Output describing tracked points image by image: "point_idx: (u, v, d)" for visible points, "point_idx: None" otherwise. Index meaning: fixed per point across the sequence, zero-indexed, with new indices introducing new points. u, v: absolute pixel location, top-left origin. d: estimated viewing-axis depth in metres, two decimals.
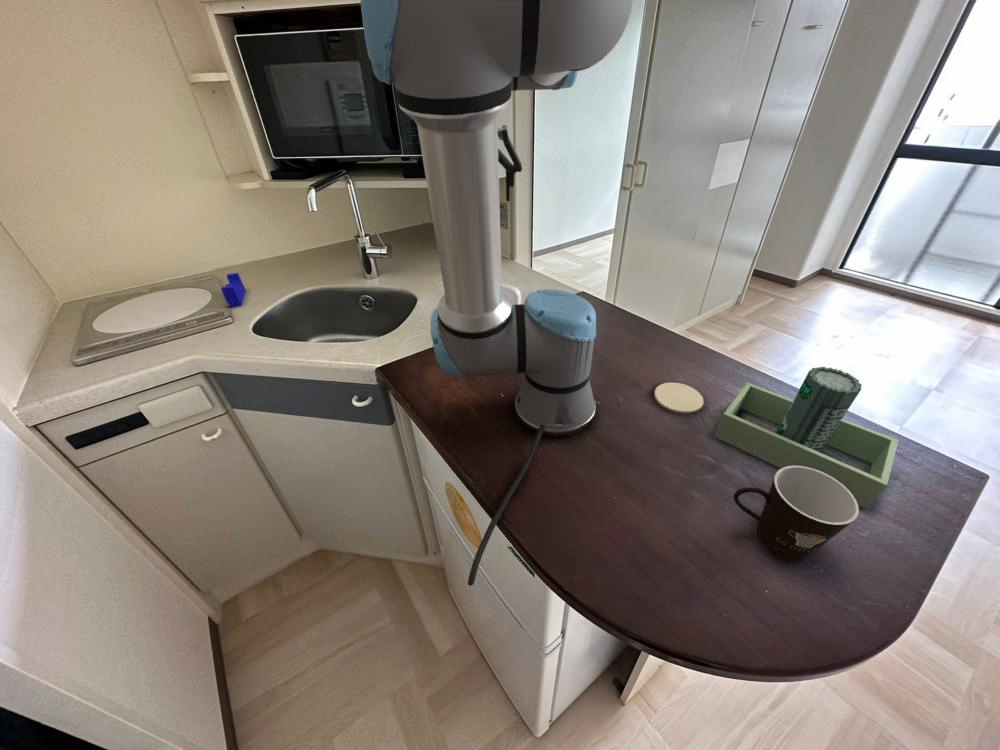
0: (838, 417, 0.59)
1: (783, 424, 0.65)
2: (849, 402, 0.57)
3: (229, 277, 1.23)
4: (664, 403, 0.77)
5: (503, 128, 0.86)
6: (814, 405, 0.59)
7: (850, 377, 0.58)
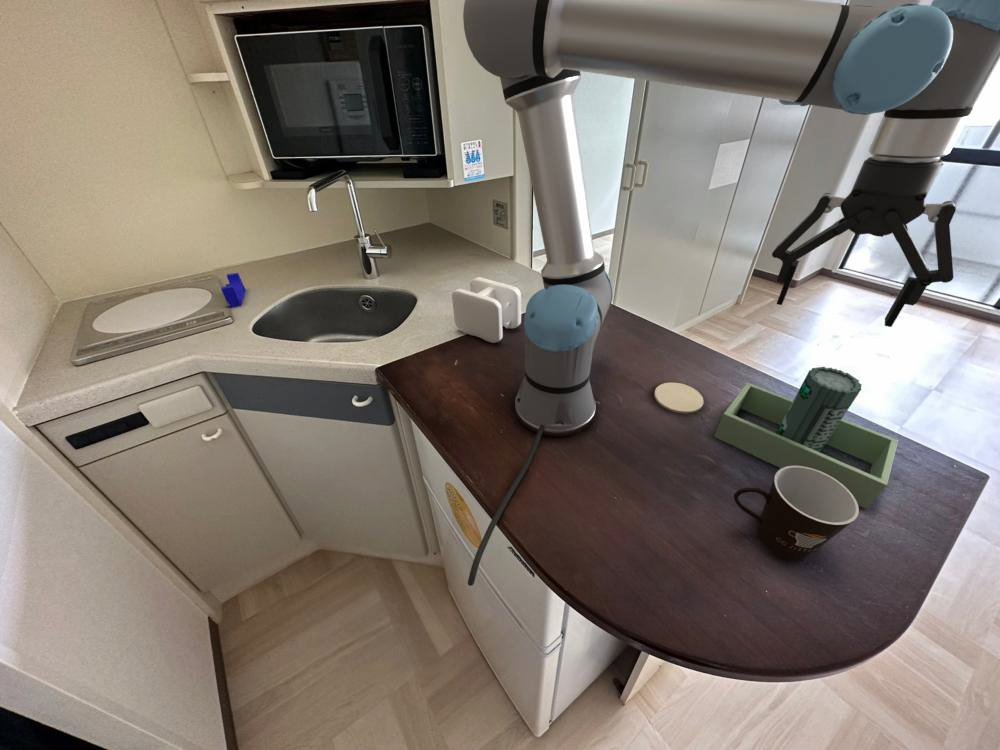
0: (838, 417, 0.59)
1: (783, 424, 0.65)
2: (849, 402, 0.57)
3: (229, 277, 1.23)
4: (664, 403, 0.77)
5: (947, 203, 0.49)
6: (814, 405, 0.59)
7: (850, 377, 0.58)
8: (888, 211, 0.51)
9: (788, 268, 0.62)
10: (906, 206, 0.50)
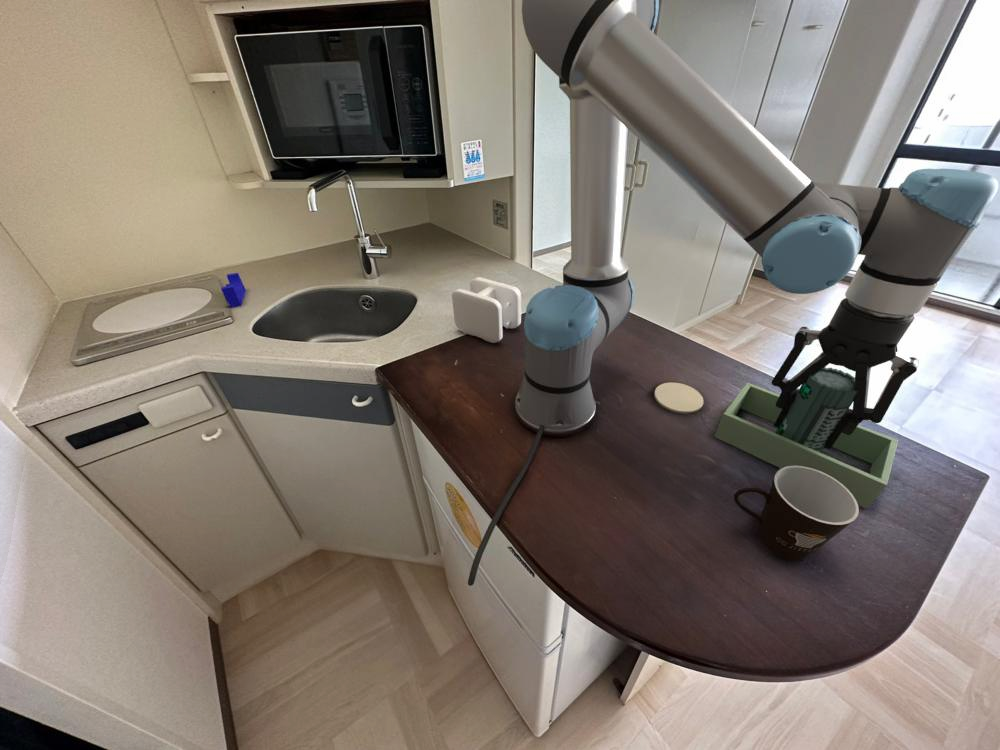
0: (838, 417, 0.59)
1: (783, 424, 0.65)
2: (849, 402, 0.57)
3: (229, 277, 1.23)
4: (664, 403, 0.77)
5: (913, 361, 0.51)
6: (814, 405, 0.59)
7: (850, 377, 0.58)
8: (862, 351, 0.53)
9: (786, 397, 0.63)
10: (877, 350, 0.52)
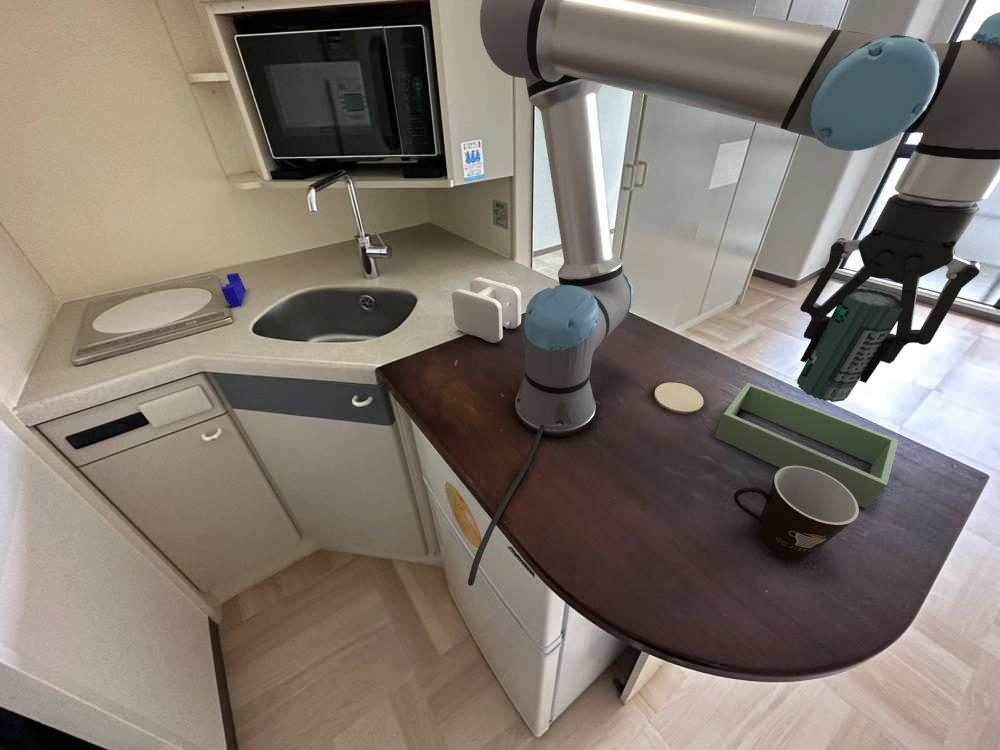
0: (878, 342, 0.51)
1: (812, 357, 0.58)
2: (893, 322, 0.50)
3: (229, 277, 1.23)
4: (664, 403, 0.77)
5: (974, 264, 0.44)
6: (851, 328, 0.52)
7: (893, 295, 0.51)
8: (913, 255, 0.46)
9: (817, 324, 0.56)
10: (931, 253, 0.45)
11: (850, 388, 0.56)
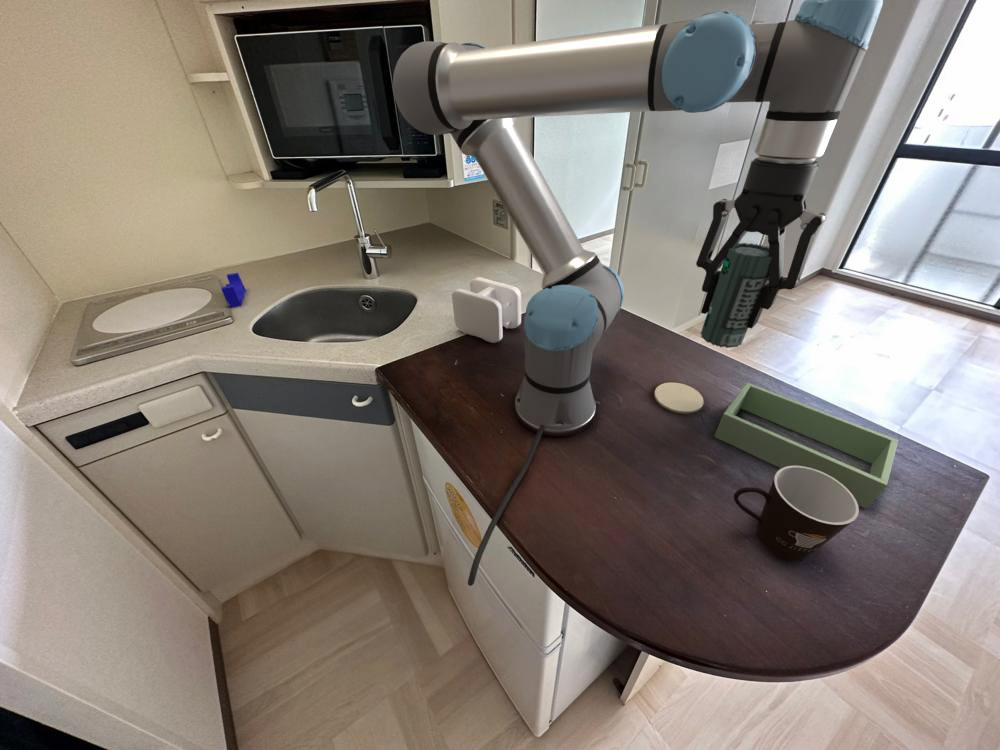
0: (756, 289, 0.59)
1: (709, 309, 0.65)
2: (765, 271, 0.57)
3: (229, 277, 1.23)
4: (664, 403, 0.77)
5: (820, 215, 0.51)
6: (733, 278, 0.59)
7: None
8: (773, 209, 0.53)
9: (711, 278, 0.63)
10: (786, 206, 0.52)
11: (741, 334, 0.63)
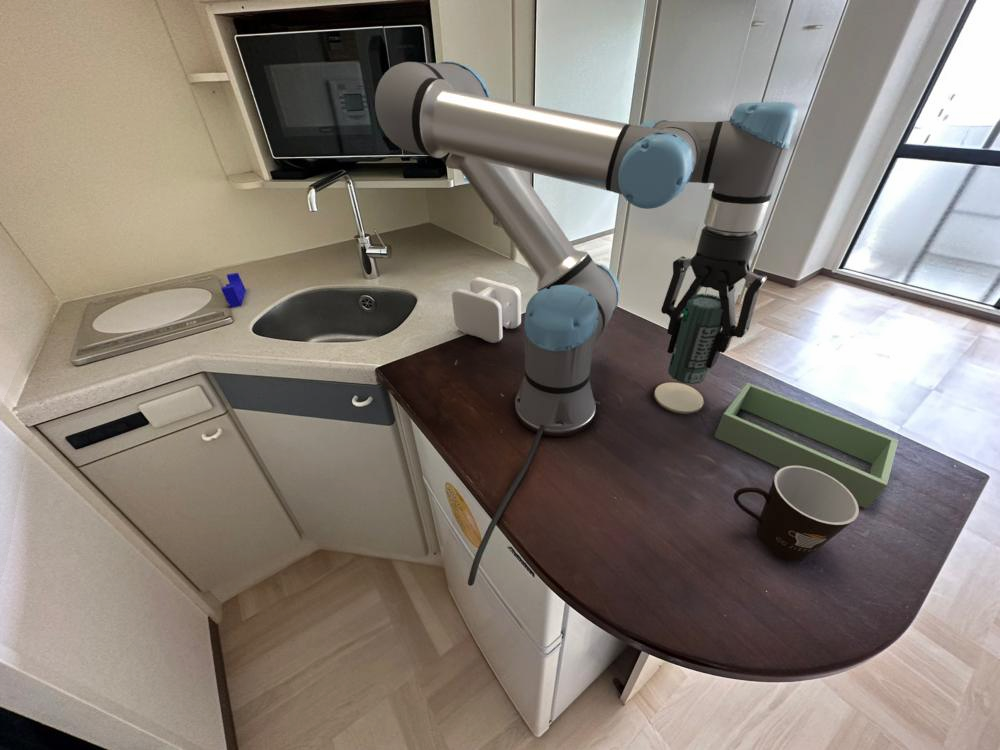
0: (712, 336, 0.67)
1: (674, 349, 0.73)
2: (718, 320, 0.65)
3: (229, 277, 1.23)
4: (664, 403, 0.77)
5: (760, 277, 0.59)
6: (691, 325, 0.67)
7: None
8: (721, 270, 0.61)
9: (674, 323, 0.71)
10: (732, 268, 0.60)
11: (701, 373, 0.71)
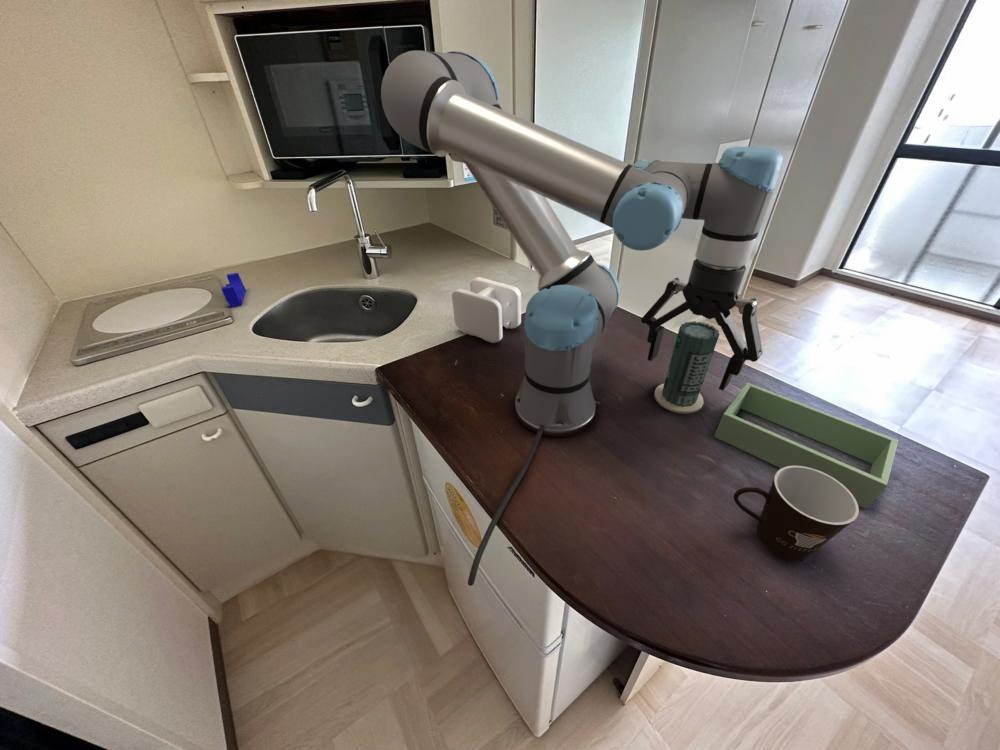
0: (703, 362, 0.70)
1: (668, 373, 0.76)
2: (709, 348, 0.68)
3: (229, 277, 1.23)
4: (664, 403, 0.77)
5: (750, 301, 0.61)
6: (683, 352, 0.70)
7: (713, 328, 0.69)
8: (710, 301, 0.64)
9: (653, 332, 0.75)
10: (722, 299, 0.63)
11: (693, 396, 0.74)
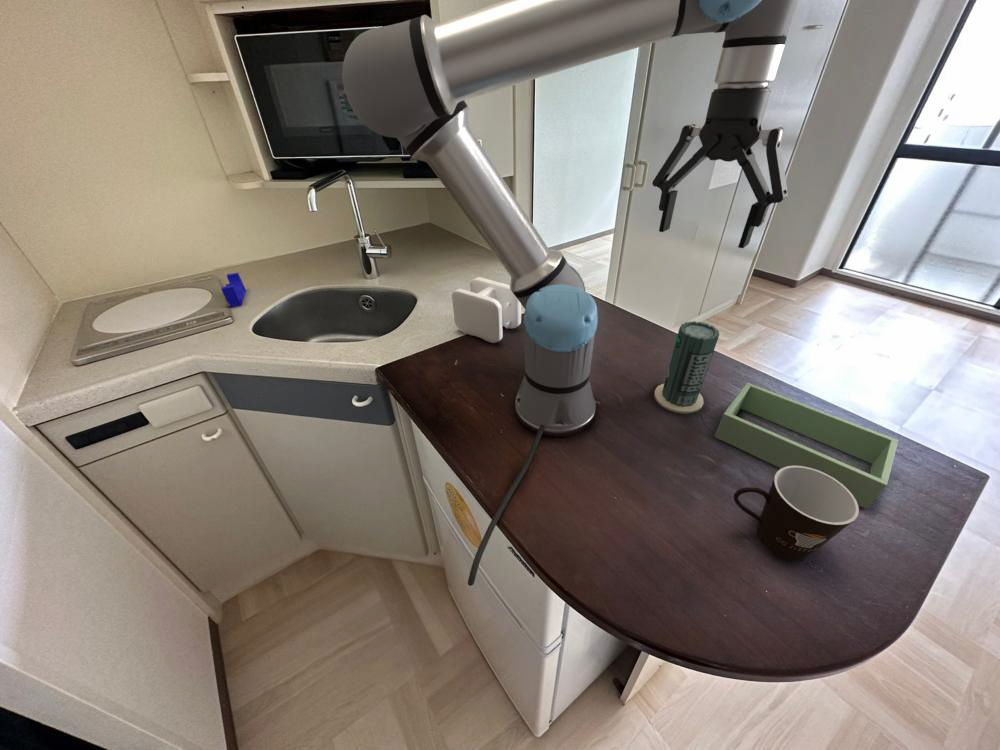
0: (703, 362, 0.70)
1: (668, 373, 0.76)
2: (709, 348, 0.68)
3: (229, 277, 1.23)
4: (664, 403, 0.77)
5: None
6: (683, 352, 0.70)
7: (713, 328, 0.69)
8: (731, 136, 0.58)
9: (666, 196, 0.69)
10: (744, 131, 0.57)
11: (693, 396, 0.74)
